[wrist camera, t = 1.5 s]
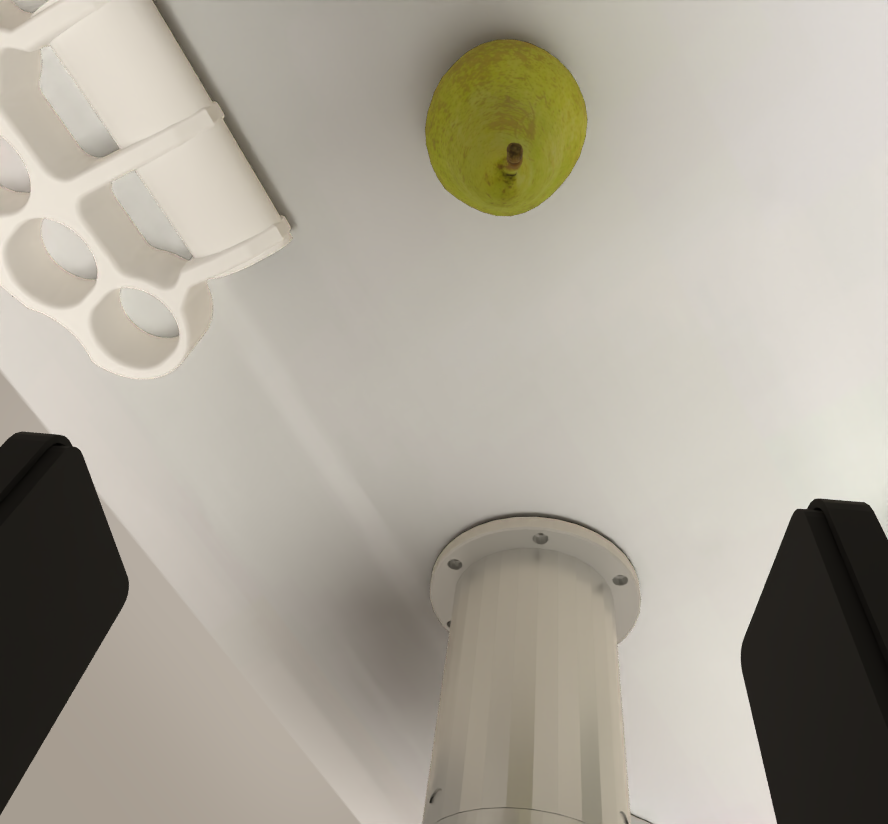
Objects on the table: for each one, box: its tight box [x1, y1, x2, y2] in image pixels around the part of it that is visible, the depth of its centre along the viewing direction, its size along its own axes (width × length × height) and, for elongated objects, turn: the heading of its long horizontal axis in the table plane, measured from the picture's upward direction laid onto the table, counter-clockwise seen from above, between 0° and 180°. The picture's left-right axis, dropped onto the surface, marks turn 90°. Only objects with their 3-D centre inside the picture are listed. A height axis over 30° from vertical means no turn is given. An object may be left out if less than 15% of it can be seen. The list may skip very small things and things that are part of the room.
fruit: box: [425, 39, 587, 216], centre depth 24 cm, size 6×6×12 cm
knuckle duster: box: [0, 0, 293, 379], centre depth 32 cm, size 3×18×15 cm
